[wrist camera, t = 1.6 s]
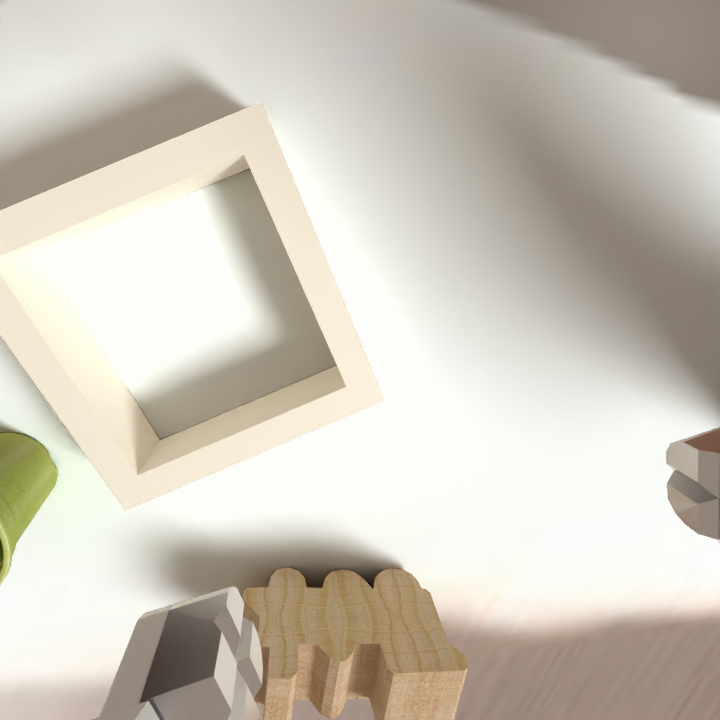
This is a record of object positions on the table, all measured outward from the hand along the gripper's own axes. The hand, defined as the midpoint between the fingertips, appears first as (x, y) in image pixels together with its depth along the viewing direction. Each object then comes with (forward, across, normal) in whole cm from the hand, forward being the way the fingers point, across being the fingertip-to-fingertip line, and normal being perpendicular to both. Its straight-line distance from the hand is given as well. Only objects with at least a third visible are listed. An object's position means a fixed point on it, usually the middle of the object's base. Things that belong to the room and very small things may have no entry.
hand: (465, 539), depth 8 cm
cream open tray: (+26, +9, -2) cm, 27 cm away
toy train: (+26, +6, +26) cm, 37 cm away
